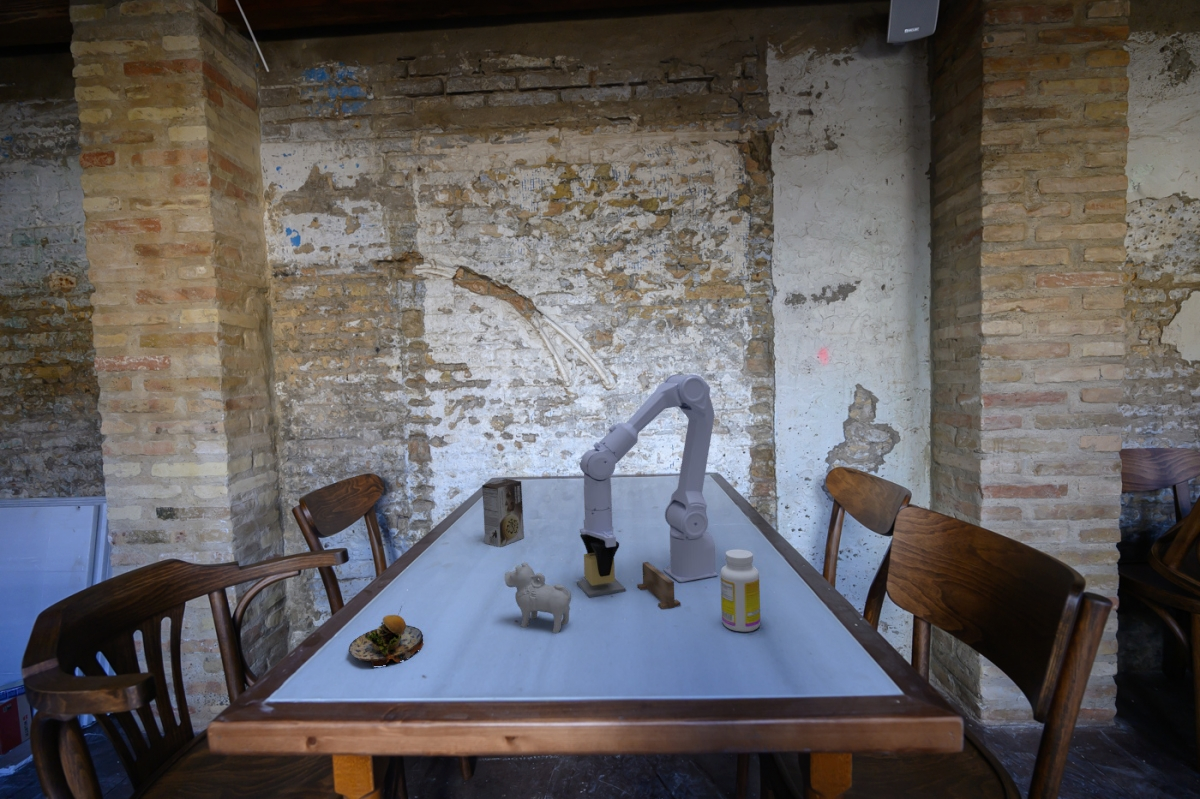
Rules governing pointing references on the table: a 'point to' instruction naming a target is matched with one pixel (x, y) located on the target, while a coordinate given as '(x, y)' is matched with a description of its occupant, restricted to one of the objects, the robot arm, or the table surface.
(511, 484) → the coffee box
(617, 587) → the coaster
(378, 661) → the burger
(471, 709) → the table surface
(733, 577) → the supplement bottle
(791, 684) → the table surface
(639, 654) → the table surface
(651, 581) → the wooden board
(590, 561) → the cube
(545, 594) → the dog figurine
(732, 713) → the table surface
